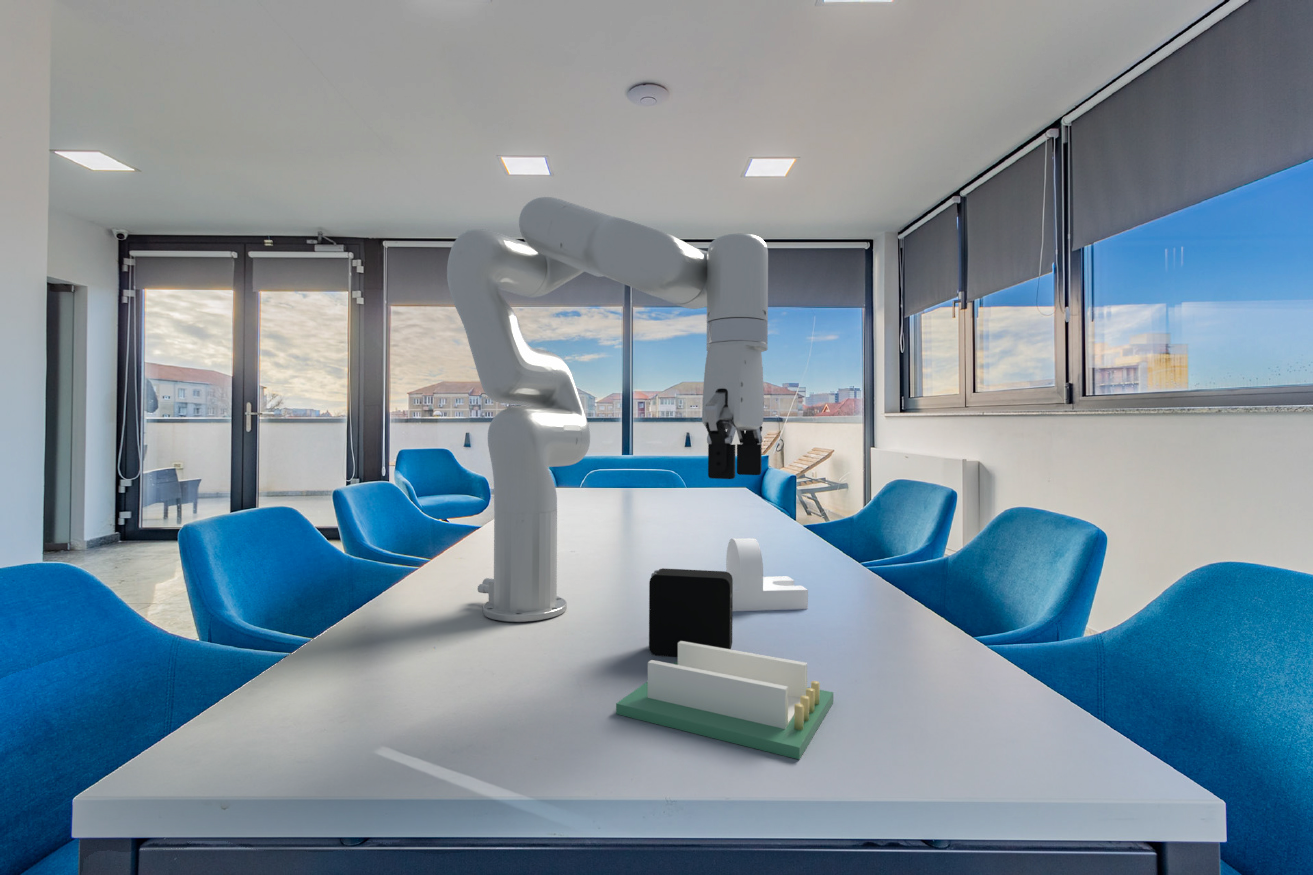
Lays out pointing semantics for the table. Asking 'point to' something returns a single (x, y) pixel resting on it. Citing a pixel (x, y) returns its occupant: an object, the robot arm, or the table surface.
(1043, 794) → the table surface
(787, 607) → the white bracket
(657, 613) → the electronic device
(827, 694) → the board
